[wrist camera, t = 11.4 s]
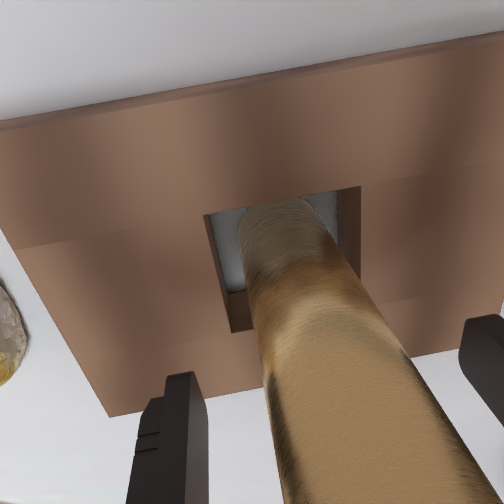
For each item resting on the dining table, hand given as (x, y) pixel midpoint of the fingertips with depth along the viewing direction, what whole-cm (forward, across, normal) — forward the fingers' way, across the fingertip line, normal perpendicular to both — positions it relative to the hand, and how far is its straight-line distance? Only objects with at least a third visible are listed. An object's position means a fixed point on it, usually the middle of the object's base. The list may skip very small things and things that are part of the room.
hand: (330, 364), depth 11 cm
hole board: (+8, 0, 0) cm, 8 cm away
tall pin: (+8, 0, 0) cm, 8 cm away
